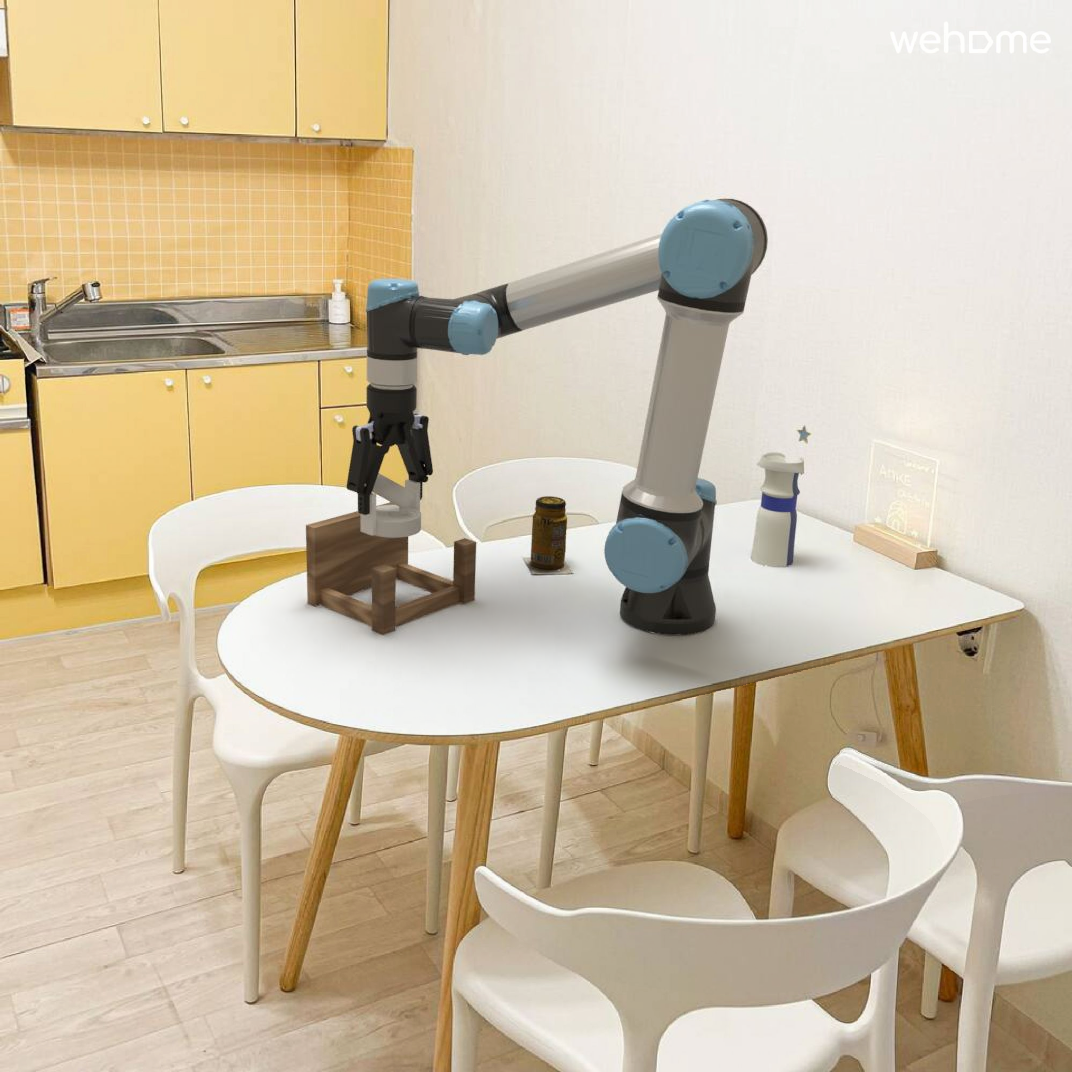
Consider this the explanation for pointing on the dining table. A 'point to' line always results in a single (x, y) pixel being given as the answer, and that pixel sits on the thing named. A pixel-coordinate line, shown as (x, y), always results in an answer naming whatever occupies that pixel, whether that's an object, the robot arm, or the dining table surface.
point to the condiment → (548, 537)
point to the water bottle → (777, 509)
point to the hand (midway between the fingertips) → (390, 526)
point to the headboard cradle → (378, 574)
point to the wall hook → (395, 510)
